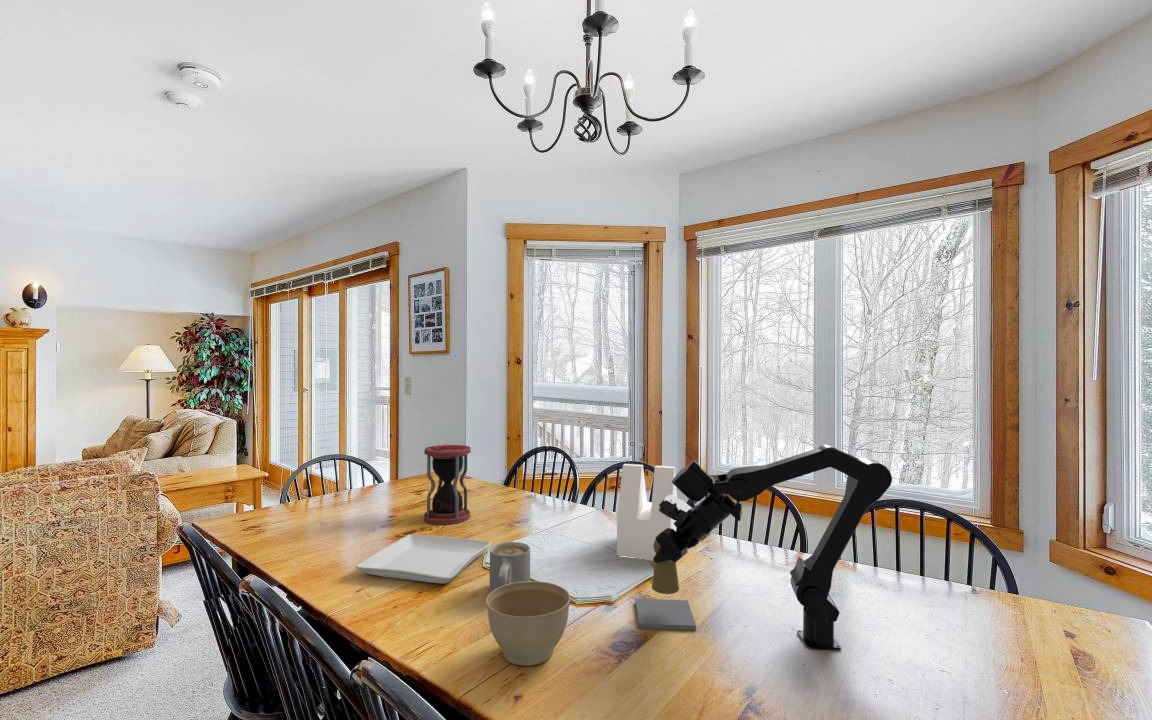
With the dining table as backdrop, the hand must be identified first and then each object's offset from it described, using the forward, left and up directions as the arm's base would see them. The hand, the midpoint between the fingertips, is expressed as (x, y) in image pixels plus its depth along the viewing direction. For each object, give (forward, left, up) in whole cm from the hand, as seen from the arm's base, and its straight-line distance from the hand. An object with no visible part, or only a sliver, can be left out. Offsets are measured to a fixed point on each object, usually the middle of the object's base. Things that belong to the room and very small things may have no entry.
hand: (659, 557), depth 121 cm
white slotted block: (+42, -1, -13) cm, 44 cm away
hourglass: (+68, +68, -13) cm, 97 cm away
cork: (-1, -1, -7) cm, 7 cm away
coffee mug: (+9, +36, -13) cm, 39 cm away
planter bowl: (-18, +27, -13) cm, 35 cm away
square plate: (+25, +61, -13) cm, 67 cm away
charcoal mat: (-1, -1, -13) cm, 13 cm away
